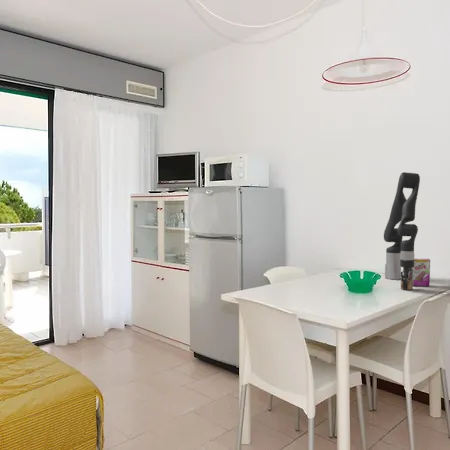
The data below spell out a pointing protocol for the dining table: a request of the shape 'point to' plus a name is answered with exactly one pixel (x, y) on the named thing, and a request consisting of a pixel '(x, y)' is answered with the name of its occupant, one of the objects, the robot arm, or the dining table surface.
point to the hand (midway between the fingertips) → (406, 287)
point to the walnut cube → (408, 285)
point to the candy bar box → (421, 272)
